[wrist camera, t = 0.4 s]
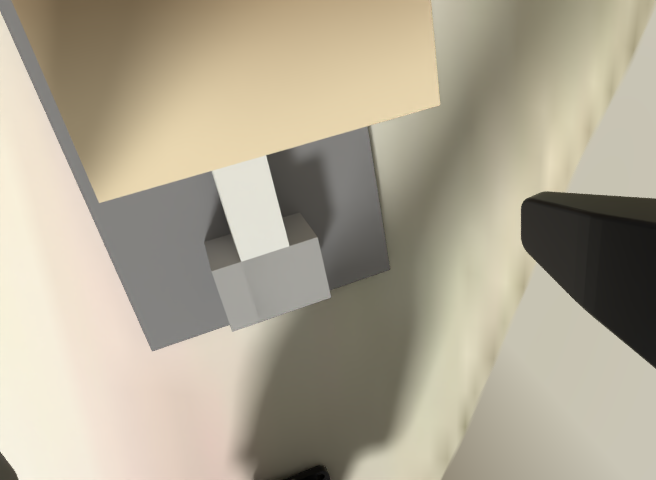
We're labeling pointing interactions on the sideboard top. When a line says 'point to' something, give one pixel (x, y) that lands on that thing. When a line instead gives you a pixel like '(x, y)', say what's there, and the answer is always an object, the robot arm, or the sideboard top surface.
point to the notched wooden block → (223, 78)
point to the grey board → (234, 229)
